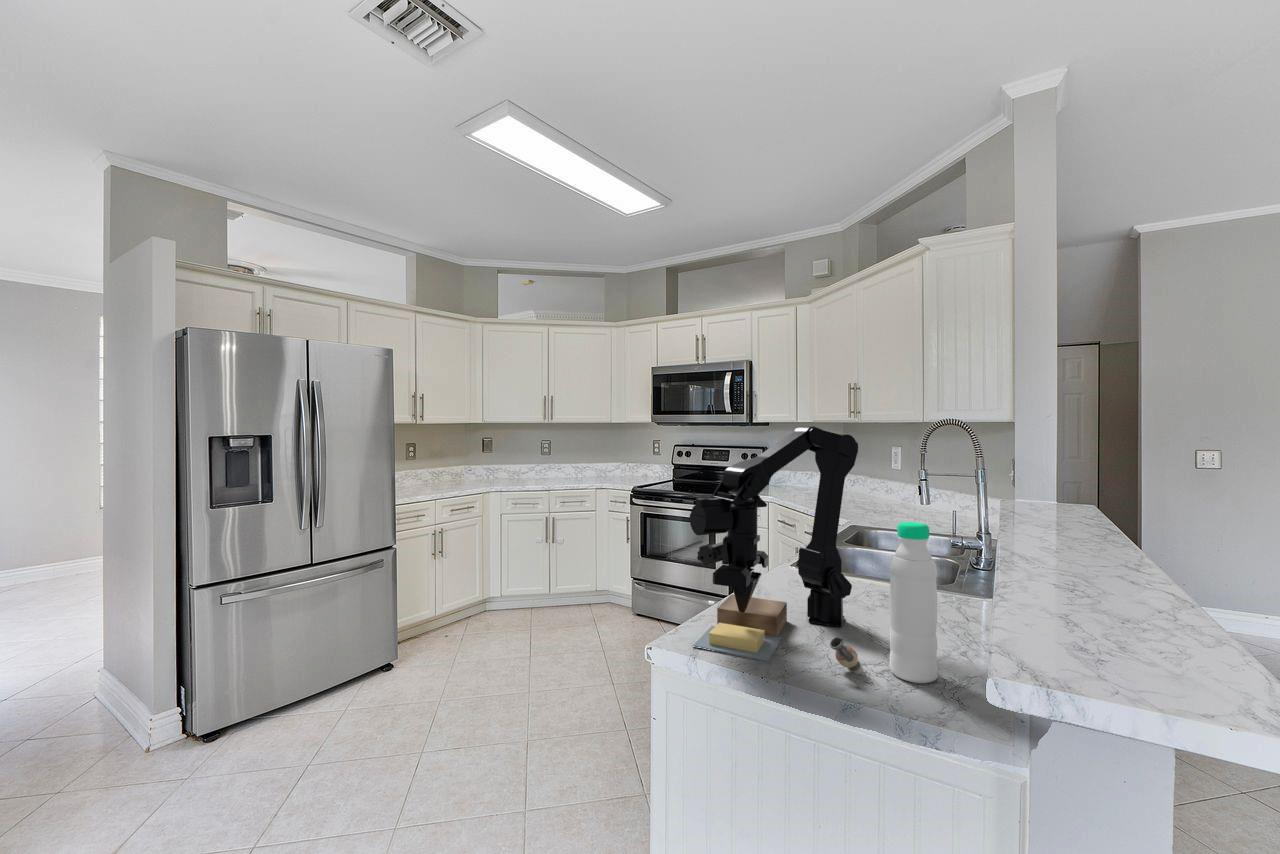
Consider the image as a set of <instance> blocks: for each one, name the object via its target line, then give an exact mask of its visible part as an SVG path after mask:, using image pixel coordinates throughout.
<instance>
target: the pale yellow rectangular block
mask: <svg viewBox="0 0 1280 854" xmlns="http://www.w3.org/2000/svg"><path fill="white" fill-rule="evenodd" d="M764 641H765V630H760V629H754V628H749V627H743V626H737V625H731V624H725V623H718V624H716V625H715V627H714V628H713V629H712V630H711V631H710V633H709V644H714V645H719V646H724V647H730V648H735V649H740V650H746V651H751V652H756V653H757V652H758V650H759V649H760V647H761V646H762V644H763V643H764Z"/></svg>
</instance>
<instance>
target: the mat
mask: <svg viewBox="0 0 1280 854" xmlns="http://www.w3.org/2000/svg"><path fill="white" fill-rule="evenodd" d="M715 626H716V625H715ZM715 626H714V625H711V626H710V627H709V628H708V629H707V630H706V631H705V632H704V634H703V635H701V636H700V638H699V639H697V641H696V642H695V643H693V645H692V647H693V646H695V647H701V648H706V649H710V650H714V651H718V652H717V653H719V652H722V653H721V654H724V653H726V654H725V655H730V656H735V657H740V658H747V659H751V660H757V661H762V662H767V663H769V662H770V661H771V659H772V657H773V656H774V654H775V651H776V650H777V648H778V646H779V645H780V643H781V641H782V637H780V636H778V637H775V636H769V635H765V641H764V643H763V644H762V646H761V647H760V649H759V650H758V652H757V653H756V652H751V651H746V650H740V649H735V648H730V647H724V646H719V645H714V644H709V633H710V631H711V630H712V629H713V628H714V627H715ZM714 651H713V652H714Z"/></svg>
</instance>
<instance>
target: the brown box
mask: <svg viewBox="0 0 1280 854" xmlns="http://www.w3.org/2000/svg"><path fill="white" fill-rule="evenodd" d="M787 604H788V602H787V601H780V600H773V599H765V598H758V597H751V599H750V601H749V604H748V606H747V609H746V611H745V612H740V611H739V609H738V606H737V602H736V599H735V595H734V594H730V595H729V596H728V597H727V598H726V599H725V600H724V601H723V602H722V603H721V604H719V606H718V607H717V608H716V610H717V612H716V620H717V621H716V622H717V624H718V623H725V624H731V625H737V626H743V627H749V628H754V629H760V630H765V635H769V636H775V637H779V635H780V633H781V632H782V630H783V629H784V627H785V625H786V623H787V621H788V605H787ZM717 624H716V625H717Z"/></svg>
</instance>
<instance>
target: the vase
mask: <svg viewBox="0 0 1280 854" xmlns="http://www.w3.org/2000/svg"><path fill="white" fill-rule="evenodd" d="M829 647H830V648H831V649H832V650H834V651H835V653H834V655H835V658H836V660H837V663H838V664H840V666H842V667H844V668H846V669H847V670H848V671H849V672H851V673H853V674H856V675H859V677H861V678H863V679H864V677H865V676H868V678H871V677H870V673H869V672H868V671H867V669H864V667H863V666H862V664H861V662H860V661H859V656H858V653H857V651H856V649H855V648H854V647H852V646H851V645H850V644H849V645H848V644H844V640H843V639H842V638H841V637H833V638H832V639H830V641H829ZM868 664H869V663H868ZM868 664H867V665H868ZM862 675H863V676H862Z"/></svg>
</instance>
